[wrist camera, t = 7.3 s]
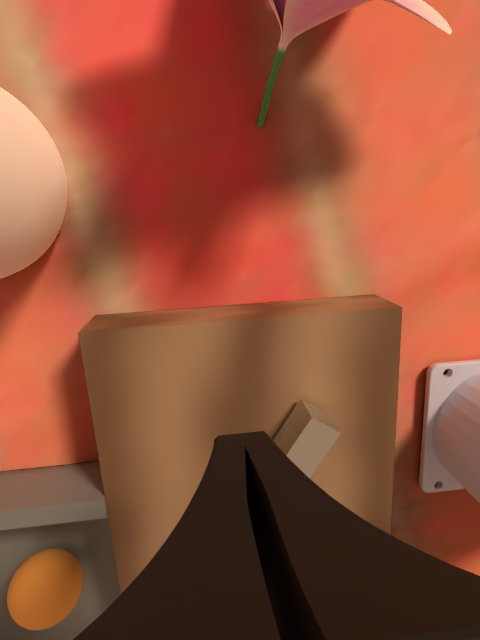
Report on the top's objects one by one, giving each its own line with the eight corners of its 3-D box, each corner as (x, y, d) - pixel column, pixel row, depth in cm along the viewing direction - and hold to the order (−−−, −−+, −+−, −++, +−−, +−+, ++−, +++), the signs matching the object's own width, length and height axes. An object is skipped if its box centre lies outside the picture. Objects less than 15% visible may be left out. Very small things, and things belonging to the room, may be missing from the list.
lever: (337, 417, 19) (351, 438, 17) (179, 647, 21) (177, 685, 20) (290, 392, 18) (300, 412, 16) (134, 631, 21) (128, 670, 19)
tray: (117, 459, 22) (104, 499, 19) (147, 654, 25) (139, 715, 22) (-80, 479, 21) (-128, 525, 18) (-20, 678, 25) (-51, 745, 22)
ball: (-9, 588, 21) (48, 529, 23) (40, 633, 21) (92, 570, 23) (-13, 608, 18) (52, 538, 20) (43, 659, 19) (102, 585, 20)
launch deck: (373, 294, 21) (402, 307, 18) (364, 599, 26) (384, 648, 23) (95, 315, 20) (77, 332, 17) (143, 630, 25) (136, 685, 22)
